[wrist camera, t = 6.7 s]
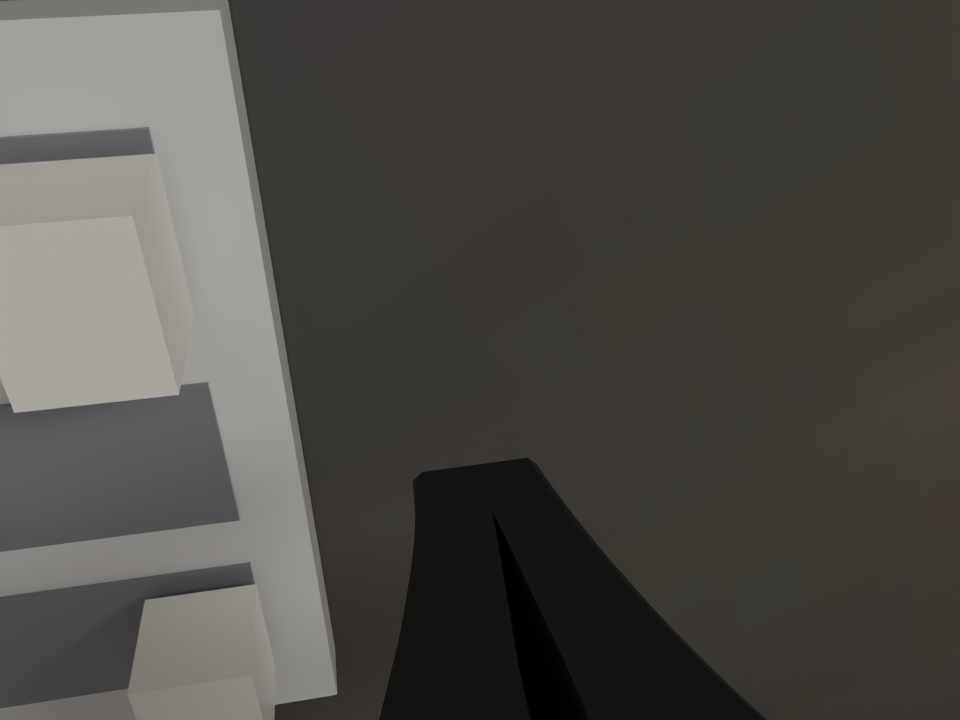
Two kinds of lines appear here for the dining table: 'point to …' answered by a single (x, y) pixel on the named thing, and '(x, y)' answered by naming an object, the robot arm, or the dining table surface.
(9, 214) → the switch tab near
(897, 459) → the dining table surface
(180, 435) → the panel
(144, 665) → the switch tab far
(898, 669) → the dining table surface
